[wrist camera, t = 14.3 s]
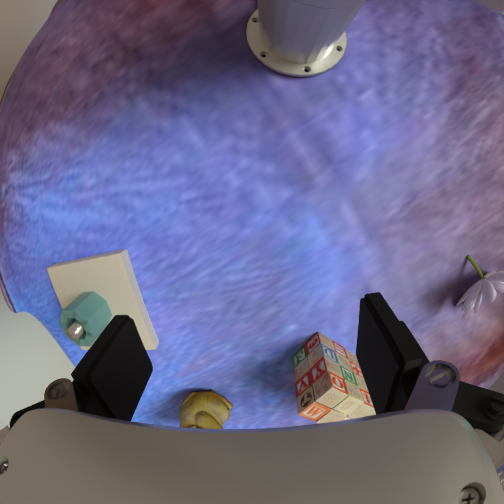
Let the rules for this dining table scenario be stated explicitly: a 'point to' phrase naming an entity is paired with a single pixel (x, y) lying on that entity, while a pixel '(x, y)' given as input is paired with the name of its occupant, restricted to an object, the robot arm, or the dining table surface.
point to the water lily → (482, 289)
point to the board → (104, 290)
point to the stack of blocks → (329, 382)
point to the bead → (86, 316)
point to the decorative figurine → (204, 410)
